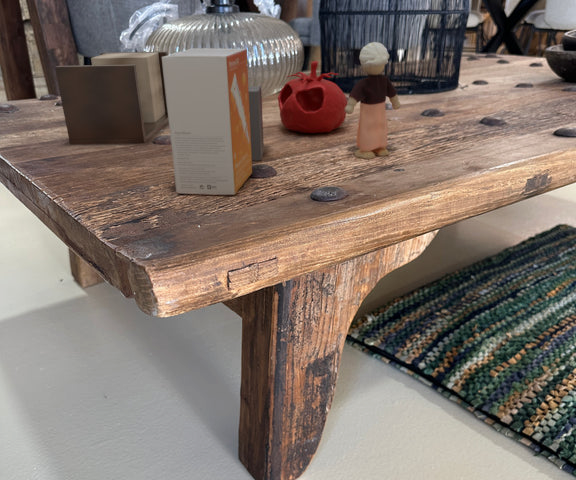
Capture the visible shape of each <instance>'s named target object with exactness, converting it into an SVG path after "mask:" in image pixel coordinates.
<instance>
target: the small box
mask: <svg viewBox="0 0 576 480" xmlns="http://www.w3.org/2000/svg"><path fill="white" fill-rule="evenodd" d="M162 66H163V75H164V84H165V93H166V102H167V111H168V120H169V122H168V127H169V137H170V144H171V155H172V163H173V165H172V166H173V174H174V184H175V192H176V194H184V195H208V196H209V195H210V196H211V195H214V196H235V195H236V194H237V193H238V191H239V190H240V189H241V187H242V186H243V184H244V183H246V181H247V180H248V178H250V176H251V175H252V174H253V164H252V163H253V162H252V156H251V135H250V112H249V89H248V86H249V68H248V49H247V48H225V47H224V48H219V47H217V48H214V47H213V48H211V47H208V48H207V47H205V48H201V47H200V48H199V47H197V48H194V47H192V48H188V49H185V50H181V51H176V52H173V53H171V54H167V56H164V57H162Z"/></svg>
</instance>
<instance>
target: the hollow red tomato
mask: <svg viewBox="0 0 576 480" xmlns="http://www.w3.org/2000/svg"><path fill="white" fill-rule="evenodd" d="M318 66H319V62H318V61H317V60H314V61H311V62H310V73H309V75H308V74H306V73H304V72H303V71H297V72H296V73H293V74H291V75H288V76H286V78H290V77H296V78H293V79H291V80H289V81H287V82H286V83H284V85H283V86H282V88H281V90H280V91H279V94H278V96H277V101H278V108H279V117H280V121H281V124H282V126H284V127H285V128H286V129H287V130H289V131H292V132H299V133H303V134H324V133H331V132H332V131H333V130H336V129H338V128H339V127H341V125H342V124H343V123H344V122H345V119H346V116H347V113H346V112H345V107H346V106H347V102H348V99H347V96H346V94H345V93H344V92H343V90H342V88H340V87H339V86H338V85H337V83H335V82H333V81H331V80H328V79H331V78H332V75H334V76H337V75H338V74H339V72H338V73H335V72H328V73H322V74H320V75H317V70H318ZM325 78H328V79H325Z"/></svg>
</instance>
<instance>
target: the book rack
mask: <svg viewBox="0 0 576 480" xmlns="http://www.w3.org/2000/svg"><path fill="white" fill-rule="evenodd" d="M164 56H168V52H167V51H126V52H125V51H122V52H120V51H119V52H117V51H116V52H100V53H99V55H97V56H96V55H95V56H93V57H91V58H90V61H91V65H90V64H89V65H86V64H85V65H57V66H55V67H54V70H55V75H56V80H57V87H58V92H59V97H60V101H61V106H62V111H63V116H64V122H65V126H66V132H67V136H68V141H69V145H115V144H116V145H122V144H123V145H124V144H133V145H134V144H146V143H147V142H148V141H149V140H150V139H151V138H152V137H153V136H154V135H155V134H157V133H158V132H159V131H160V130H161V129H162V128H163V127H164V126H165V125H166V124H168V123H169V120H168V111H167V102H166V93H165V84H164V75H163V66H162V57H164Z"/></svg>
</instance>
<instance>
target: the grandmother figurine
mask: <svg viewBox="0 0 576 480" xmlns="http://www.w3.org/2000/svg"><path fill="white" fill-rule="evenodd" d="M358 59H359V62H360V65H361V68H362V71H363V72H364V74H366V75H367V76H366V77H365V78H362V79H360V80H358V81H357V82H356V83H355V84H354V86H353V87H352V89H351V91H350V93H349V94H348V99H347V106H346V107H345V112H346V115H352V114H354V111H355V107H356V106H357V105H358V103H359V118H358V123H357V125H358V126H357V133H356V143H355V144H356V145H355V146H356V148H358V149H357V150H356V151H355V153H354V157H356V158H361V159H365V160H371V159H375V158H376V156H378V157H379V156H380V157H383V156H384V157H385V156H389V155H390V151H388V149H387V147H388V145H389V143H388V137H389V135H388V134H389V133H388V131H389V130H388V129H389V127H388V119H387V109H386V100H387V98H388V99H389V102H390V103H391V107H392V109H393V110H395V111H396V110H399V109H400V108H401V105H402V104H401V102H400V100H399V96H398V91H397V89H396V87H395V86H394V84H393V83H392V81H391V80H390V78H389V77H388V75H384V74H382V73H383V72H384V69H385V66H386V65H387V64H388V63H389V59H390V54H389V52H388V49H387V47H385V46H384V44H382V43H381V42H377V41H372V42H369V43H368V44H366V45H365V46H363V47H362V48H361V49H360V51H359V58H358Z"/></svg>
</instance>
